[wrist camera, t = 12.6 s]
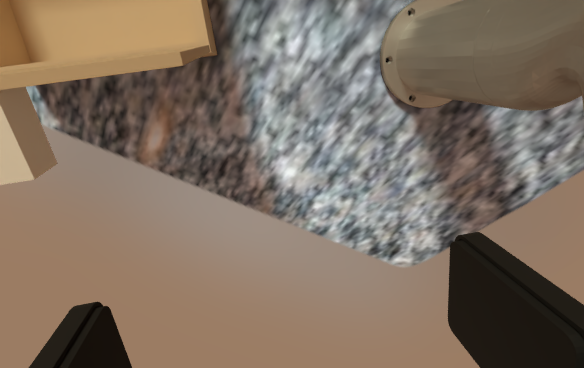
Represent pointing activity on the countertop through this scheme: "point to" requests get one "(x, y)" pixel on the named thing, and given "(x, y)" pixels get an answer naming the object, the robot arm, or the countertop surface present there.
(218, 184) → the countertop surface
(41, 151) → the carton lid
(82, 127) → the countertop surface
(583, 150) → the countertop surface
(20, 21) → the carton
